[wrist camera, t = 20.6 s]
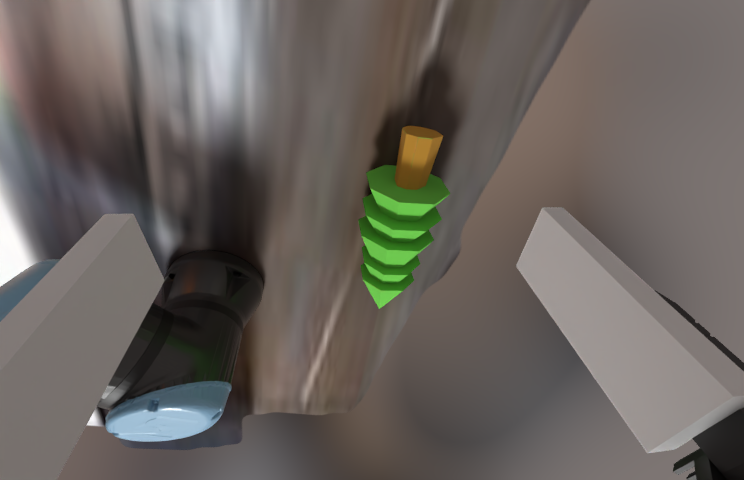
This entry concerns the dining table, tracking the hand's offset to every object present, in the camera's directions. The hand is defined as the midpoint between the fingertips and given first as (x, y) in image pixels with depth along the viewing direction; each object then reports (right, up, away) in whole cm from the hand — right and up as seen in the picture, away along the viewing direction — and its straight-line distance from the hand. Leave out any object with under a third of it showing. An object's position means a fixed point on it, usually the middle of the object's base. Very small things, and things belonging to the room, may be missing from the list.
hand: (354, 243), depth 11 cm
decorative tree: (+3, +4, +39) cm, 40 cm away
